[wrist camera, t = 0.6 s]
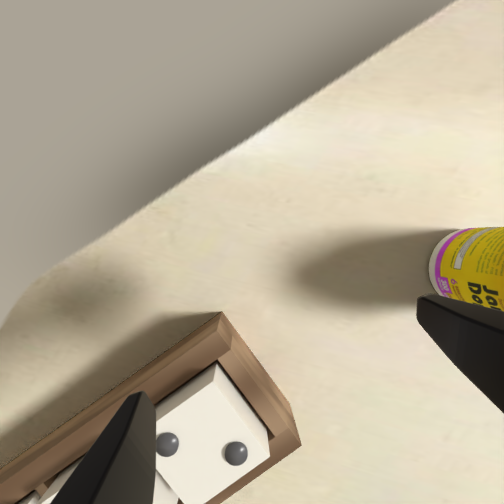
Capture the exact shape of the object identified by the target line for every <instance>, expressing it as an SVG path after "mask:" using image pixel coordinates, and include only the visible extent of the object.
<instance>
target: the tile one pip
mask: <svg viewBox="0 0 504 504" xmlns="http://www.w3.org/2000/svg"><path fill="white" fill-rule="evenodd" d="M40 499H41V496H40V495H39V493H38V492H37V491H34V492H33V493H32V494H30V495H29V496H27V497H26V498H25V499H23V500H22V501H20V502H19V503H18V504H37V502H38V501H39V500H40Z"/></svg>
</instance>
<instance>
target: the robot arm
mask: <svg viewBox="0 0 504 504" xmlns="http://www.w3.org/2000/svg"><path fill="white" fill-rule="evenodd" d="M416 316H417V320H418V322H419V324H420V325H421V326H422V327H423V329H424V330H425V331H426V332H427V333H428V334H429V336H430V337H431V338H432V339H433V340H434V341H435V343H436V344H437V345H438V346H439V347H440V349H441V350H442V351H443V352H444V353H445V354H446V356H447V357H448V358H449V359H450V360H451V361H452V362H453V363H454V365H455V366H456V367H457V368H458V369H459V370H460V371H461V372H462V373H463V374H464V375H465V376H466V377H467V378H468V379H469V380H470V381H471V382H472V383H473V384H474V385H475V386H476V387H477V388H478V389H480V390H481V391H482V392H483V393H484V394H485V395H486V396H487V397H488V398H489V399H490V400H491V401H492V402H493V403H494V404H495V405H496V406H497V407H498V408H499V409H500V410H501V411H502V412H503V413H504V311H500V310H496V309H492V308H488V307H484V306H480V305H476V304H472V303H468V302H464V301H460V300H456V299H452V298H448V297H444V296H440V295H436V294H432V293H430V294H426V295H423V296H420V297H418V299H417V314H416ZM155 476H156V410H155V407H154V405H153V403H152V402H151V400H150V398H149V397H148V395H147V394H146V392H145V391H143V390H142V391H138V392H135V393H132V394H130V395H129V396H128V397H127V398H126V399H125V401H124V402H123V403H122V405H121V406H120V408H119V409H118V410H117V412H116V413H115V414H114V416H113V417H112V419H111V420H110V421H109V423H108V424H107V425H106V427H105V428H104V430H103V431H102V432H101V434H100V435H99V436H98V438H97V439H96V441H95V442H94V443H93V445H92V446H91V448H90V449H89V450H88V452H87V453H86V454H85V456H84V457H83V459H82V460H81V461H80V463H79V464H78V465H77V467H76V468H75V470H74V471H73V472H72V474H71V475H70V476H69V478H68V479H67V481H66V482H65V483H64V485H63V486H62V488H61V489H60V490H59V492H58V493H57V494H56V496H55V497H54V499H53V500H52V501H51V503H50V504H153V497H154V487H155Z"/></svg>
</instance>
